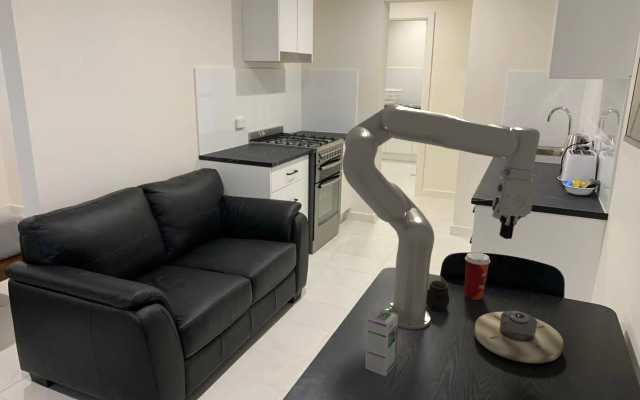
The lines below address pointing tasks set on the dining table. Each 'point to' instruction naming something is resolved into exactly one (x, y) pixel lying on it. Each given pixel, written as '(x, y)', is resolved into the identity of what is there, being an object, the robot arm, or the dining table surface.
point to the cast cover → (518, 326)
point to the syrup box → (381, 341)
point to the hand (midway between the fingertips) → (505, 237)
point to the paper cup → (475, 274)
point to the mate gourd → (437, 295)
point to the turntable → (535, 351)
